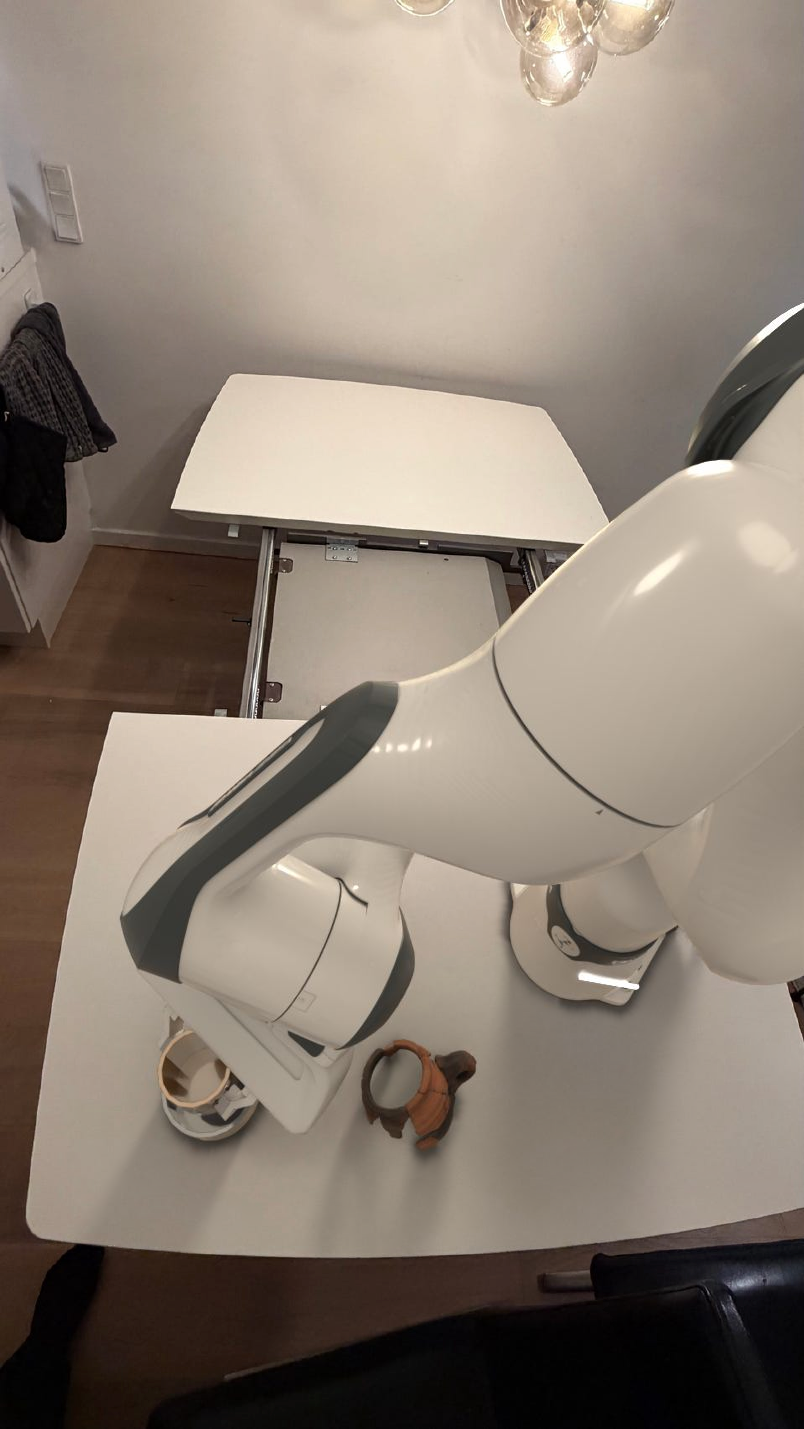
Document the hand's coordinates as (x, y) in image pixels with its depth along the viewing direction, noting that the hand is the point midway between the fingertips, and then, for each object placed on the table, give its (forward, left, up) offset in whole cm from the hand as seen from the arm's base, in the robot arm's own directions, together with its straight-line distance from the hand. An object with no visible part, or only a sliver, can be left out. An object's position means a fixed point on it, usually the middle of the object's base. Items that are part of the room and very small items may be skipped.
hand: (195, 1079), depth 57 cm
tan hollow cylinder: (-1, 0, -5) cm, 5 cm away
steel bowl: (-1, 0, -13) cm, 13 cm away
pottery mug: (-17, +13, -13) cm, 25 cm away
